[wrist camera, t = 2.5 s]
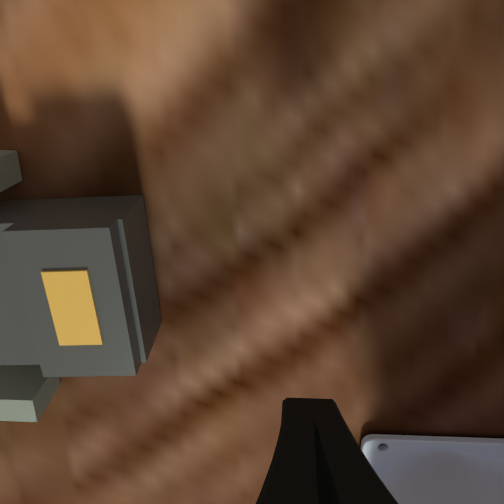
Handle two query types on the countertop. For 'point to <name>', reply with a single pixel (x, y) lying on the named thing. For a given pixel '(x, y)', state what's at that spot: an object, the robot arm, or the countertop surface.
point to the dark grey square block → (77, 285)
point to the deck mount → (21, 376)
